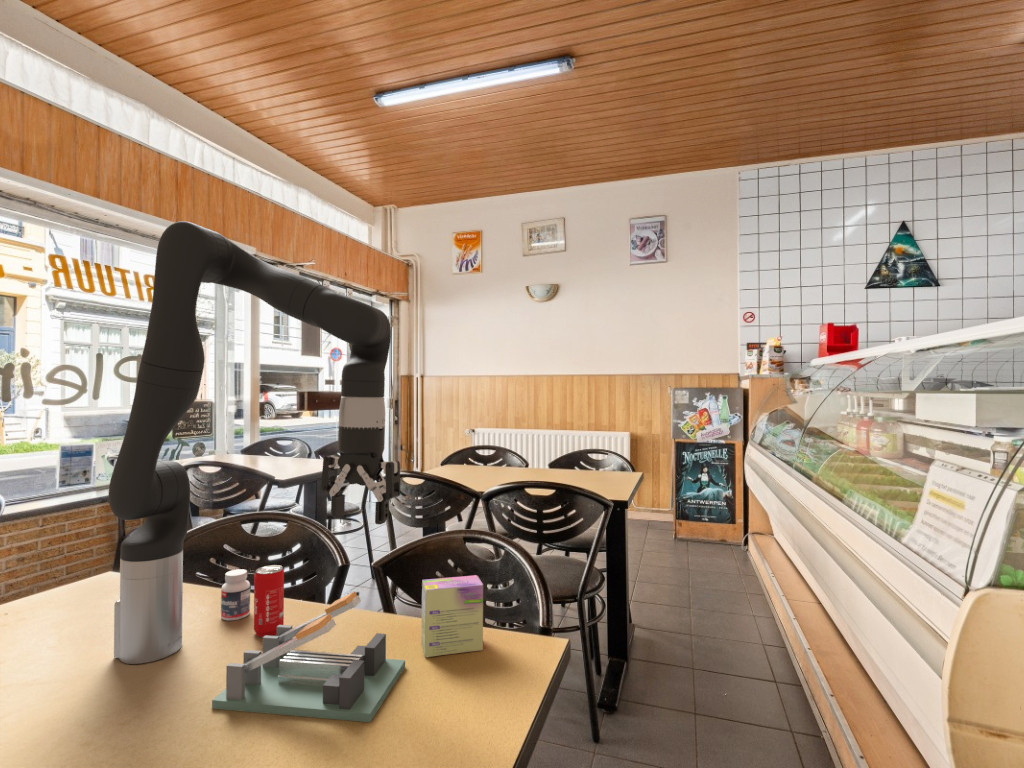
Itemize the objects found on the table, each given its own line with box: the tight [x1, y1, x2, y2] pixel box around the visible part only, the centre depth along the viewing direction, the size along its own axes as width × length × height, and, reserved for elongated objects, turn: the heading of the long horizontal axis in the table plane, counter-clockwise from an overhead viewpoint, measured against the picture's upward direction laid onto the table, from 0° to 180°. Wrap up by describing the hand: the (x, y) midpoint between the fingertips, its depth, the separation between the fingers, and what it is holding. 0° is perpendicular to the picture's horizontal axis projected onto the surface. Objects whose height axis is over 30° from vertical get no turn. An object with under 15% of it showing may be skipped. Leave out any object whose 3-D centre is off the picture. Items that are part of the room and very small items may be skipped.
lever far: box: [278, 591, 361, 644], centre depth 89 cm, size 16×4×2 cm, turn 83°
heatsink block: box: [278, 649, 363, 687], centre depth 84 cm, size 12×4×3 cm, turn 83°
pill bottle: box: [220, 568, 251, 622], centre depth 110 cm, size 5×5×9 cm
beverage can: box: [253, 564, 285, 638], centre depth 103 cm, size 5×5×12 cm
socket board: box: [211, 624, 406, 723], centre depth 84 cm, size 24×15×6 cm, turn 83°
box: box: [420, 574, 484, 658], centre depth 97 cm, size 10×6×12 cm, turn 106°
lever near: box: [244, 614, 337, 673], centre depth 80 cm, size 16×4×2 cm, turn 83°
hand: (359, 520), depth 90 cm, fingers open, 8 cm apart
